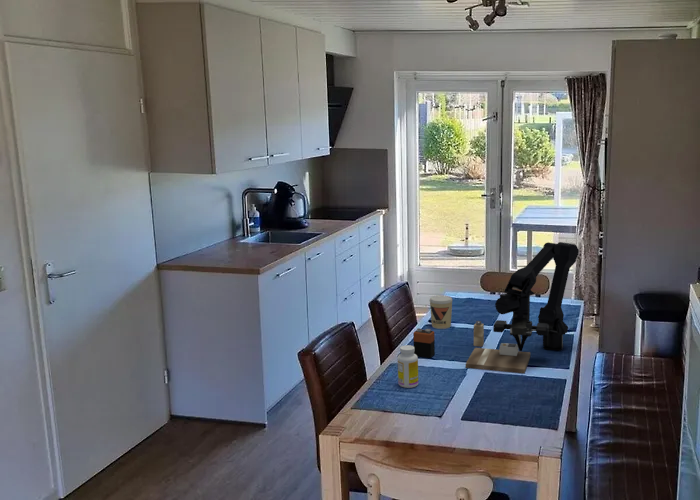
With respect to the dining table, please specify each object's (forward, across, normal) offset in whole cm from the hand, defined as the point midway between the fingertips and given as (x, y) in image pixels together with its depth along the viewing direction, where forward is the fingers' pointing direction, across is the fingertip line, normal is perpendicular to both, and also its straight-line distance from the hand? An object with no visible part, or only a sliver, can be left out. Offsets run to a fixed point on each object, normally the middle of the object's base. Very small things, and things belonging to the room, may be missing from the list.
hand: (520, 350), depth 250 cm
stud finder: (+1, -4, 0) cm, 4 cm away
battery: (+3, -34, -5) cm, 35 cm away
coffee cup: (+3, -36, +30) cm, 47 cm away
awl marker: (+3, -17, +11) cm, 21 cm away
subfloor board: (+3, -7, -5) cm, 9 cm away
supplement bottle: (+3, -32, -33) cm, 46 cm away
